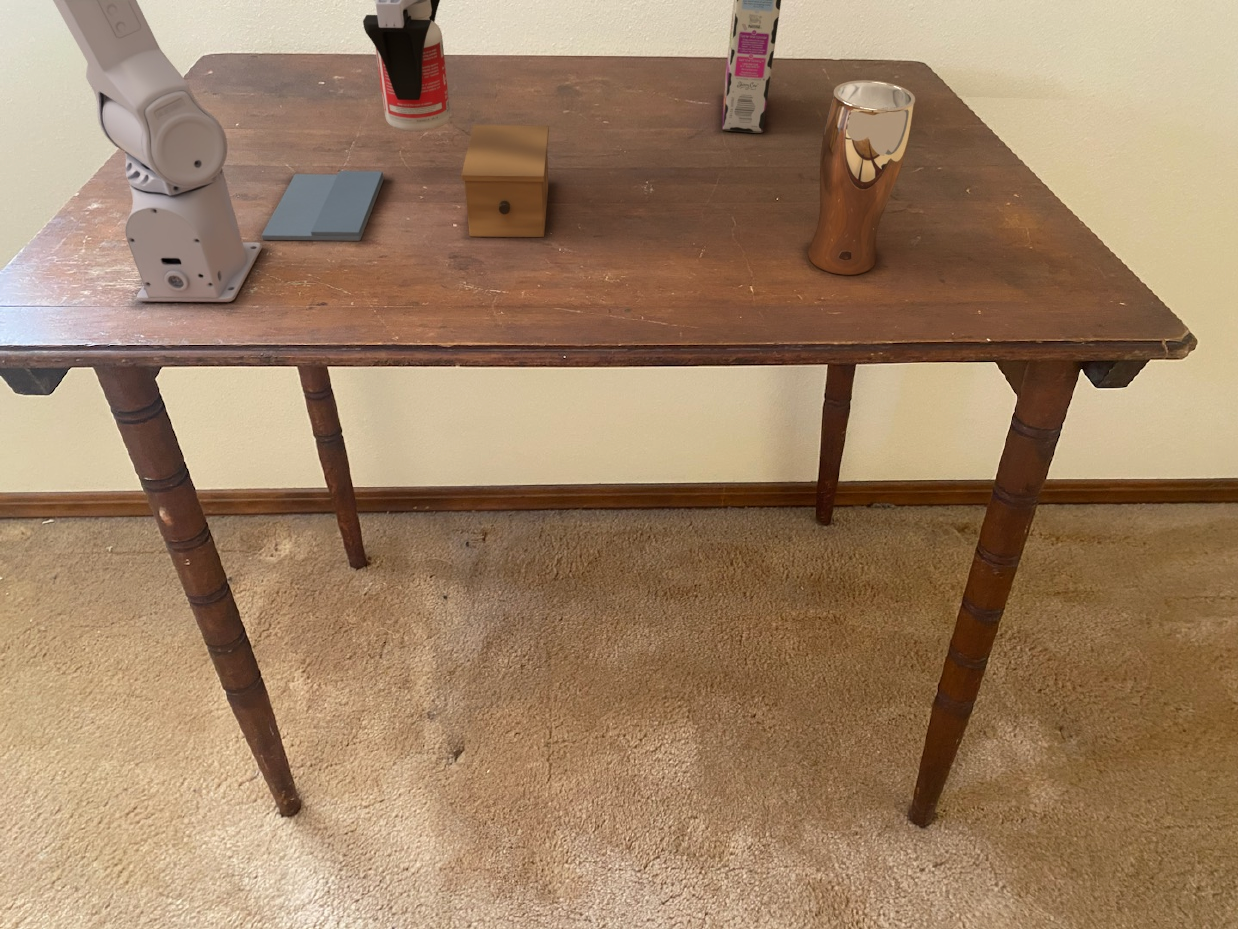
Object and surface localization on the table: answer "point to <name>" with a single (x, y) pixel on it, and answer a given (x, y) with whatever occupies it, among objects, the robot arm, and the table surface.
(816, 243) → the beer glass
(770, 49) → the candy bar box
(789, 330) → the table surface
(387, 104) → the pill bottle
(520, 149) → the birch box
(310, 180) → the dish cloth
